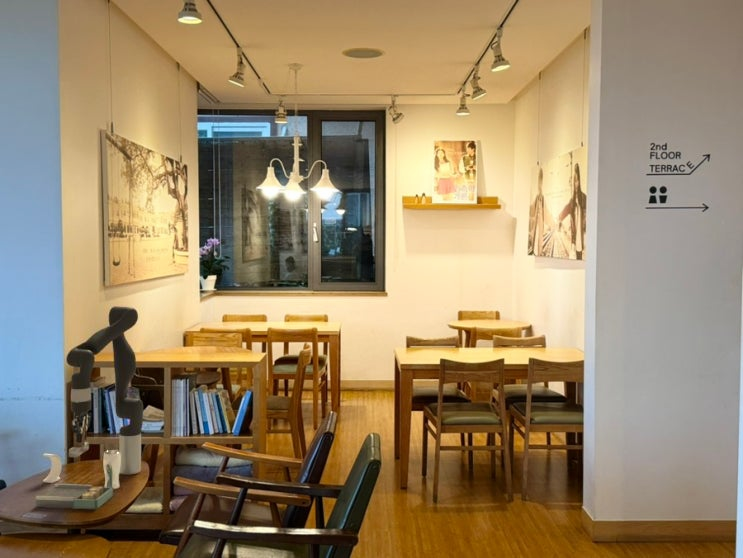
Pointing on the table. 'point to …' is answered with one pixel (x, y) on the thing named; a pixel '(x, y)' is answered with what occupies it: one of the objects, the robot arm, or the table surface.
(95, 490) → the maple cube
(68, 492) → the open box
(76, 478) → the table surface
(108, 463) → the beer glass
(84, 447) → the rake tool
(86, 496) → the maple cube
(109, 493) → the chip tray
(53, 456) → the headphone stand
